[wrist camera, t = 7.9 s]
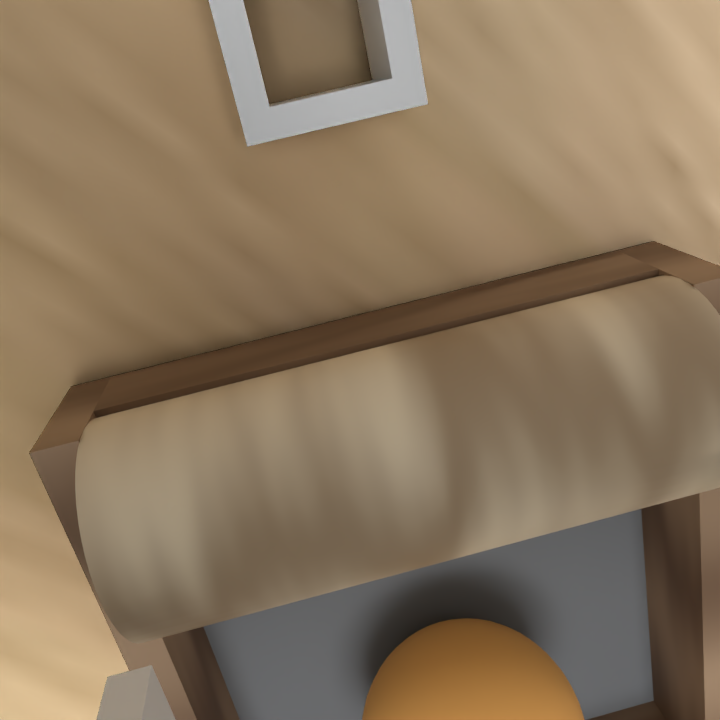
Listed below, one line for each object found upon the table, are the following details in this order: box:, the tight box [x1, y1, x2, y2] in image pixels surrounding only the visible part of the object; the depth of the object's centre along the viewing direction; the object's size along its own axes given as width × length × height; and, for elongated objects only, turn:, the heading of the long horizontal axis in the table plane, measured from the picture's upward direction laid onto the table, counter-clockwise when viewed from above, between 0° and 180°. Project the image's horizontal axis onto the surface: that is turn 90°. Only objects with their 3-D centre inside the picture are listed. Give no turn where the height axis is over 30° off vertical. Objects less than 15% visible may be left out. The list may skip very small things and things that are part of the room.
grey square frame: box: [208, 0, 428, 147], centre depth 14 cm, size 4×4×2 cm
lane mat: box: [203, 509, 654, 720], centre depth 20 cm, size 17×15×1 cm
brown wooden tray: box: [29, 241, 720, 720], centre depth 18 cm, size 17×15×6 cm
